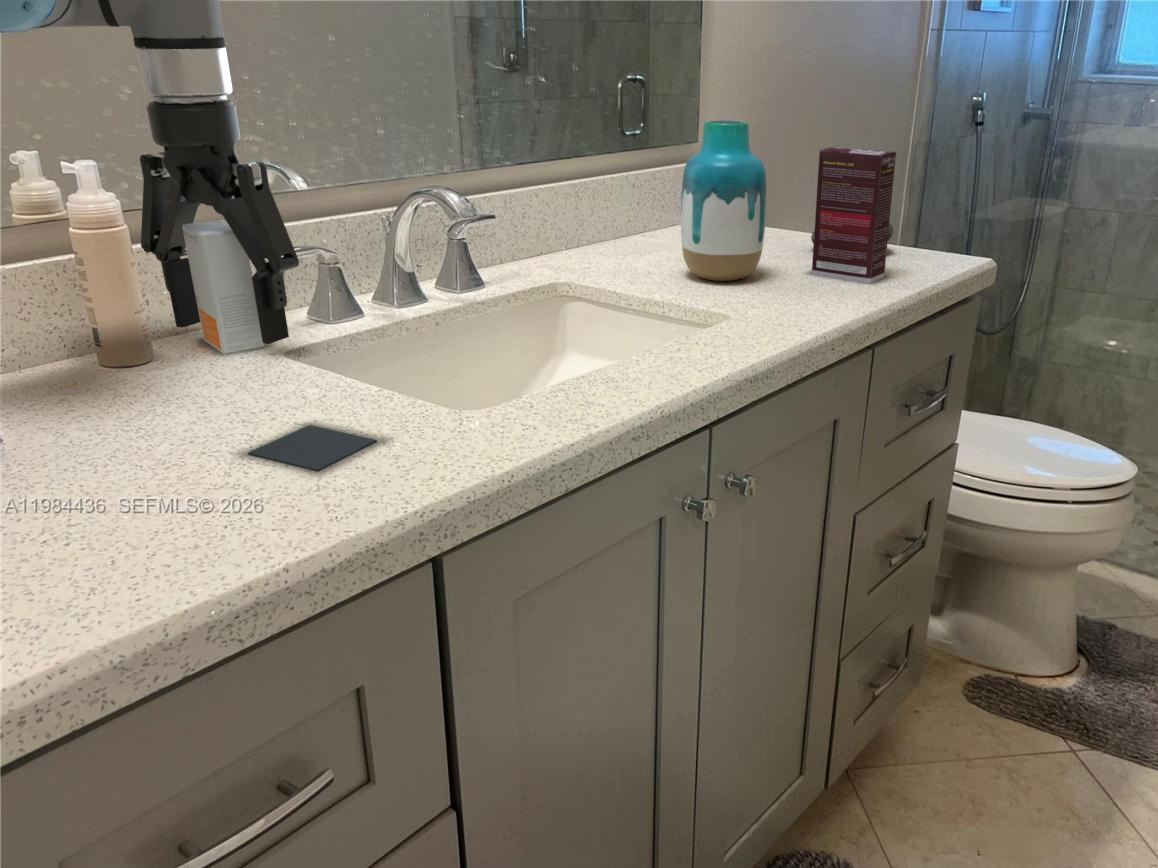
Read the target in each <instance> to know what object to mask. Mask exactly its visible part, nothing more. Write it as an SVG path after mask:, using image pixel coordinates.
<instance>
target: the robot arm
mask: <svg viewBox="0 0 1158 868" xmlns="http://www.w3.org/2000/svg"><path fill="white" fill-rule="evenodd" d="M60 27H61V28H63V27H64V28H65V27H67V28H70V27H74V28H75V27H111V28H112V27H113V28H120V27H129V28H130V30H131V33H132V37H133V45H134V51H135V56H136V62H137V66H138V72H139V78H140V84H141V89H142V93H143V94H144V95H145V96H147V97H151V99H152V101H149V102H148V103H147V106H146V111H147V116H148V121H149V126H150V132H151V137H152V141H153V142H154V143H155V144H156V145H157V146H160V147H163V151H162V152H153V153H148V154H147V153H146V154H141V155H140V157H139V163H140V168H141V173H142V178H143V183H142V184H143V187H142V205H141V206H142V209H141V230H140V231H141V234H140V248H141V247H142V248H143V249H144V251H146V252H145V254H148V253H151V254H153V255H154V256H155V258H156V259H157V260H158V261H159V262H160V265H161V270H162V275H163V279H164V283H165V288H166V290H167V292H168V293H169V297H170V302H171V307H172V312H173V316H174V321H175V322H174V323H175V326H176V328H181V329H183V328H186V327H190V326H192V325H196V324H199V323H201V322H200V317H199V311H198V306H197V301H196V296H195V291H194V286H193V281H192V275H191V270H190V265H189V260H188V257H186V256H188V255H187V250H186V244H185V239H184V234H183V229H182V225H183V224H189V223H195V222H194V221H195V218H196V215H197V212H198V208H199V206H200V205H202V204H203V205H205V206H208V207H212V208H213V210H214V211H215V212H216V213H217V214H219V215H221V216H223V218H224V221H226V222H227V223H228V225H229V226H230V228H231V229H232V231H233V233H234V234H235V236H236V238H237V239H238V241H239V242H240V244H241V246H242V247H243V249H244V251H245V252H246V254H247V255H248V257H249V259H250V263H251V264H252V265H253V267H254V269H255V270H256V272H255V273H254V274H252V281H253V287H254V293H255V299H256V305H257V312H258V318H259V324H260V330H261V336H262V342H263V343H264V345H265V344H266V345H270V344H273V343H275V342H279V341H281V340H284V339H288V338H290V337H289V336H290V335H289V334H290V333H289V327H288V321H287V316H286V309H285V308H286V307H288V306H287V305H288V297H287V292H286V284H285V278H284V275H285V273H286V272H287V271H289V270H292V269H295V268H298V267H299V265H300V260H299V258H298V254H297V252H296V250H295V248H294V245H293V242H292V240H291V238H290V234H289V233H288V230H287V228H286V227H287V226H286V225H285V223H284V220H283V217H282V215H281V213H280V210H279V208H278V205H277V203H276V200H275V198H274V195H273V193H272V190H271V188H270V183H269V176H268V170H267V166H266V164H265V162H264V161H261V160H259V161H252V162H241V161H240V159H239V157H238V156H237V153H236V145H237V143H238V142H240V140H241V131H240V124H239V119H238V111H237V106H236V105H237V104H236V103H233V100H231V99H228V98H227V96H229V95H231V94H232V92H233V84H232V77H231V71H230V66H229V60H228V59H229V58H228V54H227V48H226V39H225V33H224V27H223V20H222V12H221V7H220V0H0V33H1V34H7V33H9V34H16V33H25V32H29V31H30V30H33V29H45V28H60ZM155 236H157V237H155ZM142 248H141V249H142ZM144 251H143V252H144ZM266 260H268V261H266Z"/></svg>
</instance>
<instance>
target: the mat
mask: <svg viewBox="0 0 1158 868" xmlns="http://www.w3.org/2000/svg"><path fill="white" fill-rule="evenodd" d="M376 443H378V440H377V439H375V438H371V437H367V436H366V437H365V436H361V435H358V434H357V435H356V434H352V433H349V432H343V431H339V430H334V429H330V428H325V427H321V426H316V425H312V424H308V425H306V426H304V427H301V428H299V429H297V430H295V431H293V432H291V433H288V434H287V435H283V436H282V437H280V438H277V439H275V440H273V441H271V442H268V443H266V444H264V445H262V446H260V447H257V448H254V449H253V450H250V451H248V452H247V455H248V456H252V457H256V458H260V459H263V460H268V461H272V462H276V463H281V464H284V465H288V466H293V467H297V468H300V469H304V470H309V471H311V472H312V471H313V472H317V473H318V472H320V471H323V470H324V469H327V468H328V467H331V466H332V465H334V464H337V463H338V462H340V461H342V460H344V459H346V458H348V457H351V456H353V455H355V454H357V453H358V452H360V451H363V450H364V449H366V448H368V447H370V446H372V445H374V444H376Z"/></svg>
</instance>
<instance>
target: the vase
mask: <svg viewBox="0 0 1158 868" xmlns="http://www.w3.org/2000/svg"><path fill="white" fill-rule="evenodd" d="M749 132H750V129H749V123H748V121H746V120H743V119H742V120H741V119H729V118H728V119H727V118H726V119H725V118H723V119H720V118H717V119H707V120H705V121H704V123H703V132H702V133H703V134H702V142H701V148H700V149H699V151H698V152H696V153H695V154H694V155H692V156H690V157H689V158H688V160H687V161H686V163H685V166H684V170H683V175H682V184H681V197H680V198H681V199H680V200H681V201H680V235H681V248H682V249H681V250H682V255H683V260H684V262H685V263H684V264H685V265H686V267H687V268H688V269H689V271H690V272H691V273H692V274H693V275H695V276H697V277H699V278H701V279H704V280H709V281H713V282H731V281H737V280H741V279H744V278H747V277H748V276H750V275H751V274H752V273H753V272H754V271H755V270H756V268H757V267H758V266H759V263H760V261H761V257H762V252H763V248H764V239H765V231H766V218H767V217H766V215H767V176H766V168H765V165H764V163H763V161H762V159H761V158H759V157H758V156H757V155H755V154H754V153H753V152H752V151H751V148H750V138H749V137H750V136H749V135H750V134H749Z"/></svg>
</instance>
